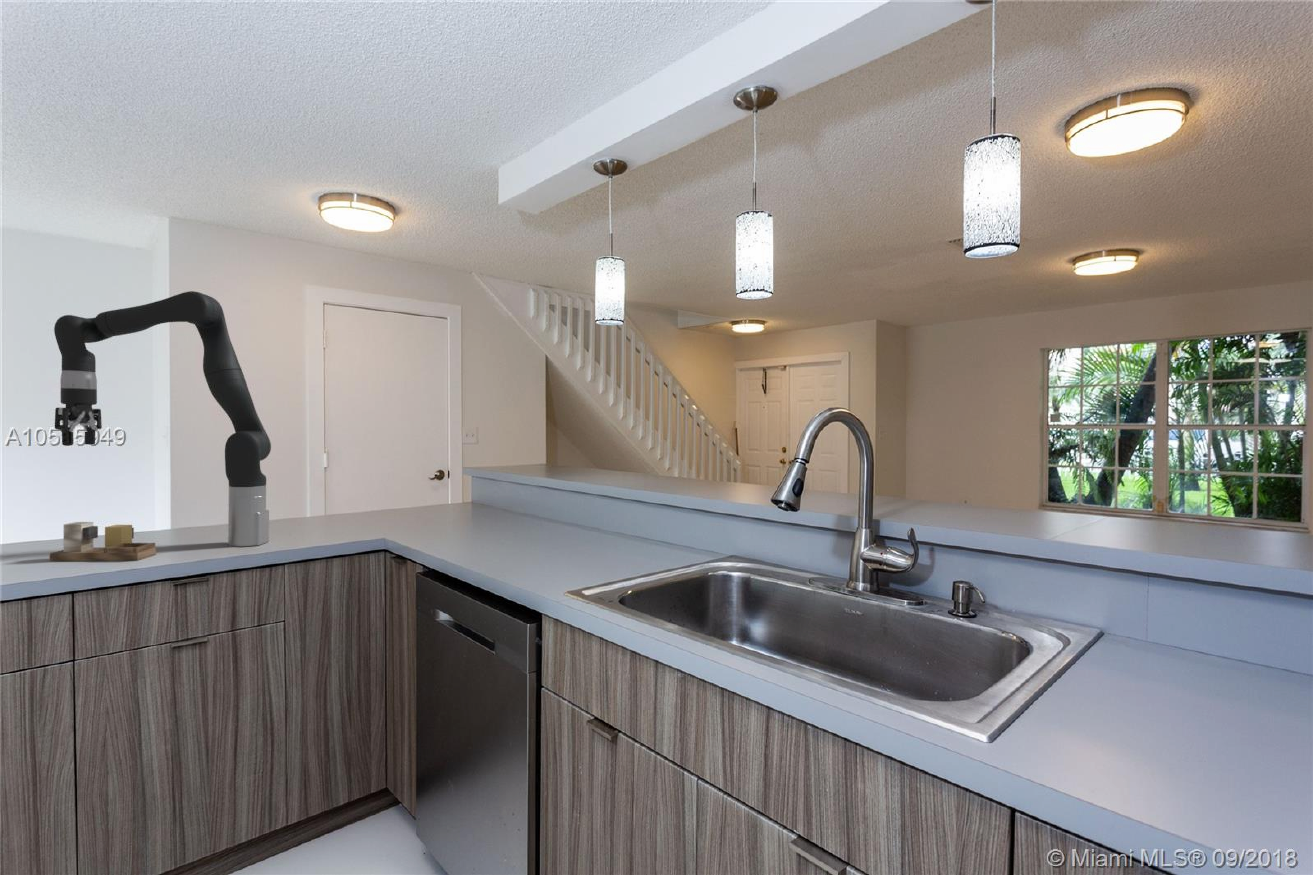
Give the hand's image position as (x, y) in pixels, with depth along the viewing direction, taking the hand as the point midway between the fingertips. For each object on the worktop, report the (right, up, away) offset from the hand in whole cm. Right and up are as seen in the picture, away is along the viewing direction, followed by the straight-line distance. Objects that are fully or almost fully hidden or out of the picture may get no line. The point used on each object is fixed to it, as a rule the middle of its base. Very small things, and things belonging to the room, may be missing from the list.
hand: (79, 444), depth 174 cm
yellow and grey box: (+18, -29, -7) cm, 35 cm away
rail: (+21, -29, -15) cm, 39 cm away
